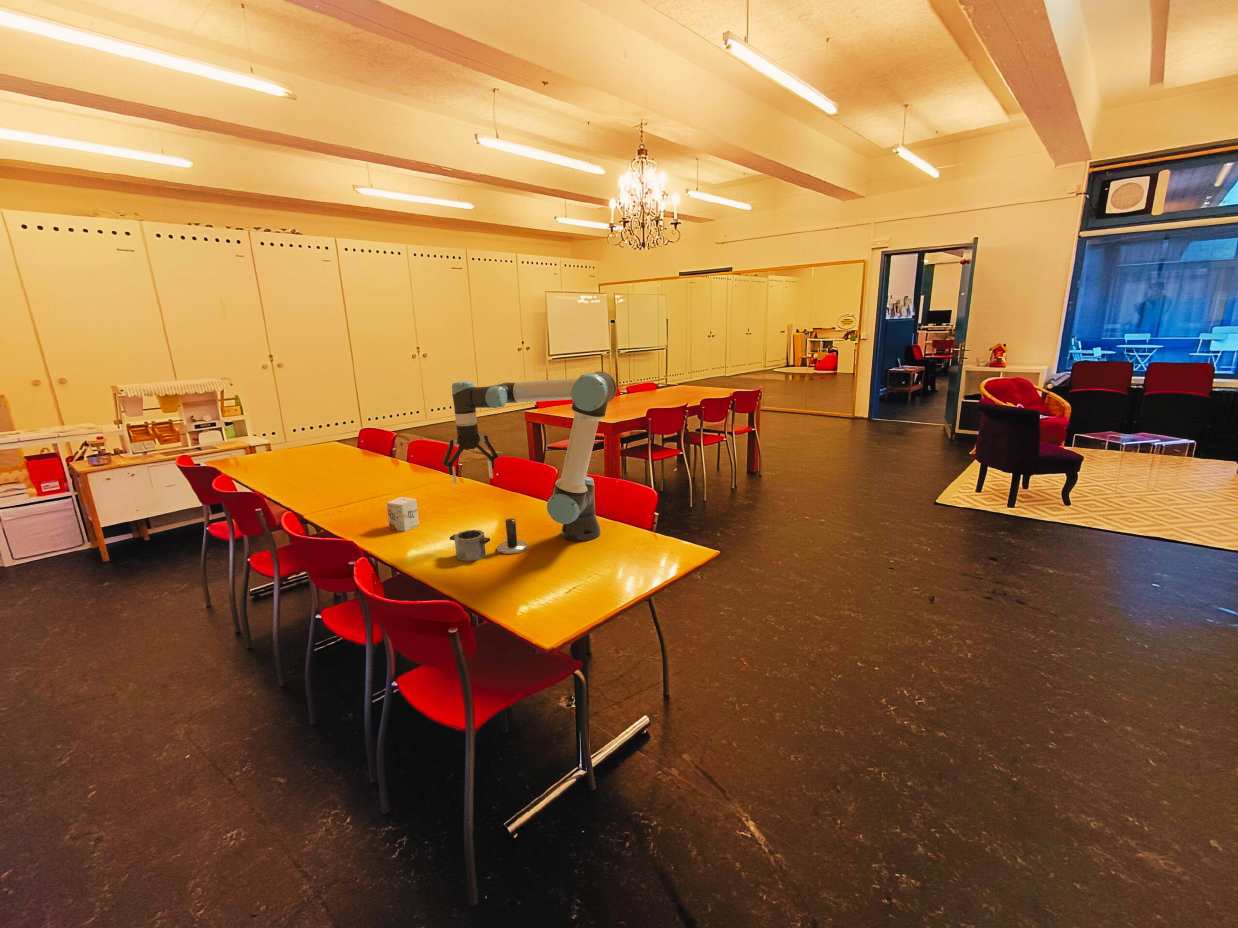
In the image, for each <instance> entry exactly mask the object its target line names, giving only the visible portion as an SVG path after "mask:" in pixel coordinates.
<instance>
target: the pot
mask: <svg viewBox="0 0 1238 928" xmlns="http://www.w3.org/2000/svg"><path fill="white" fill-rule="evenodd" d="M449 540H450V541H454V545H455V546H454V547H455V554H456V555H455V556H456V559H457V560H458V561H460V562H465V563H467V562H476V561H480V560H482V559H483V558H485V557H486V554H487V553H486V552H487V551H486V550H487V549H486V544H487V543H489V542H490V541H491V538H490V537H486V536H485V531H483V530H478V529H466V530H463V531H459V532H458V533H456V534H453V535H451V536H449Z"/></svg>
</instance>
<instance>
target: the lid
mask: <svg viewBox="0 0 1238 928" xmlns="http://www.w3.org/2000/svg"><path fill="white" fill-rule="evenodd" d="M504 521H505V522H504V523H505V532H506V533H505V534H506V541H503V542H501V543H499V544H498V545H497V547H496V549H497V552H498V553H499V554H502V555H508V556H510V555H517V554H521V553H524V552H526V551H527V550H528V546H529V545H528V542H527V541H525V540H519V539H518V536H517V535H518V533H517V523H516V522H517V521H516V518H511V517H510V518H506V519H505V520H504Z"/></svg>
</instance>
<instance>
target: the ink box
mask: <svg viewBox="0 0 1238 928" xmlns="http://www.w3.org/2000/svg"><path fill="white" fill-rule="evenodd" d="M385 503H386V510H387V517H388V518H387V519H388V527H389V530H392V531H400V532H407V531H409V530H411V529H414V528H416V527H417V526H419V525H420V521H419V513H418V504H417V498H412V497H405V496H404V497H403V496H399V497H397V498H394V499H393V500H389V501H388V502H385Z"/></svg>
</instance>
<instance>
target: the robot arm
mask: <svg viewBox="0 0 1238 928" xmlns="http://www.w3.org/2000/svg"><path fill="white" fill-rule="evenodd" d="M617 391H618V390H617V382H616V380H615V379H614V377H613V376H612V375H611V374H610V373H608V372H605V371H594V372H589V373H584V374H581V375H580V376H579V377H575V378H561V379H560V378H559V379H547V380H546V379H545V380H534V381H532V380H531V381H518V382H517V381H516V382H510V381H509V382H506V381H505V382H503V383H499V384H495V385H494V384H493V385H489V386H474V382H472V381H471V380H470V381H469V380H468V381H455V382H453V383H452V385H451V393H452V394H451V395H452V400H453V409H454V419H455V424H456V435H457V437H456V439H453V438H449V439H448V447H447V450H446V451H445V454H444V458H443V461H442V465H443V466H444V467H447V468H448V474H449V476H451V477H452V484H454V485H457V476H456V469H455V468H456V467H455V466H454V464H455V462H456V461H457V460H458V458H459V456H460V455H461V454H462V452H463V451H464V450H465V451H469V450H475V449H478V450H479V451H480V452H481V453H482V455H484V456H485V457H486V458H488V460H487V468H488V470H487V471H488V475H489V478H490V479H493V478H494V474H493V469H495V460H496V459H498V458H499V455H498V453H497V452H496V450H495V448H494V447H493V446H492V444H491V442H490V441H489V436H488V435H487V434H483V435H479V426H478V424H477V423H478V417H477V409H478V408H479V409H481V408H482V409H485V408H487V409H492V408H493V409H498V408H504V407H505V406H506V404H515V403H517V404H518V403H528V402H530V403H531V402H532V403H533V402H546V401H548V402H549V401H550V402H551V401H564V400H565V401H567V400H569V401H570V400H572V405H571V411H572V412H573V414H574V418H573V421H572V426H571V430H570V435H569V440H568V445H567V448H566V453H565V457H564V462H563V467H562V471H561V477H560V478H558V479H557V480H556V481H555V483H554V488H553V493H552V495H551V496H550V497H549V499H547V502H546V511H547V513H548V515H549V516H550V518H551V519H552V521H554V522H556V523H558V524H562V527H561V537H562V538H563V539H564V540H568V541H571V542H572V541H574V542H584V541H590V540H593V539H596V538H598V537H599V536H600V535H601V526H600V524H599V520H598V519H597V515H596V501H595V500H596V499H595V481H594V478H592V477H589V476H587V474H588V471H589V470H588V469H589V465H590V462H591V457H592V452H593V448H594V444H595V439H596V437H597V431H598V426H599V422H600V420H602V419H603V418H605V417H606V411H607V407H608V404H609V403H610V402H611V401H612V400H613V399H614V398H615V396H616V394H617ZM481 441H482V442H484V444H485V445H486V447H487V449H488V450H489V451H490V453H491V454H492V455H491V454H490V453H488V451H486V449H484V447H482V446H481V445H480V444H479V443H480V442H481ZM456 444H458V447H457V448H456V450H455V452H454V453H453V455H452V452H453V449H454V447H455V446H456ZM451 455H452V457H451ZM450 457H451V458H450Z"/></svg>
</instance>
